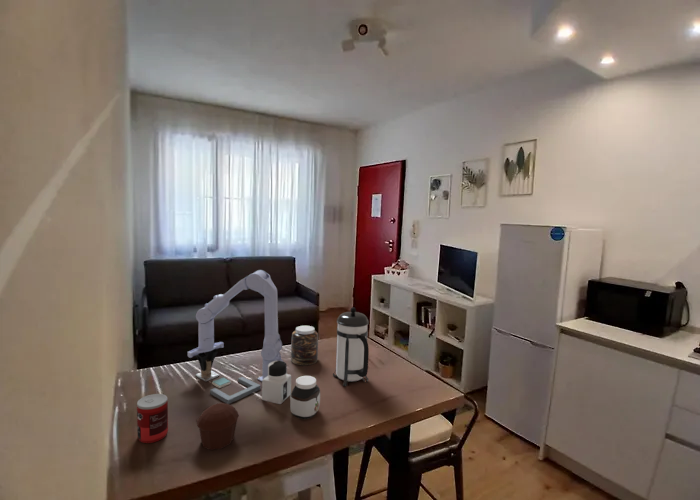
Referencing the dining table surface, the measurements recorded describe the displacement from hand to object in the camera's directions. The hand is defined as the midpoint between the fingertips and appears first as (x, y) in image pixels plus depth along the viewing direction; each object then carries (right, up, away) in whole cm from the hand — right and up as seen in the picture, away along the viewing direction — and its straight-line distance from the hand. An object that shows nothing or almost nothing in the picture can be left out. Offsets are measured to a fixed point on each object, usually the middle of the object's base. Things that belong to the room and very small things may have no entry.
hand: (206, 369), depth 142 cm
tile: (+8, -4, -6) cm, 11 cm away
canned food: (0, -7, -38) cm, 39 cm away
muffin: (+19, -8, -39) cm, 44 cm away
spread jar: (+42, -7, -22) cm, 48 cm away
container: (+31, -6, -14) cm, 35 cm away
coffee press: (+59, -5, +2) cm, 59 cm away
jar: (+37, -3, +19) cm, 42 cm away
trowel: (+1, -3, 0) cm, 3 cm away
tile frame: (+15, -4, -11) cm, 19 cm away
